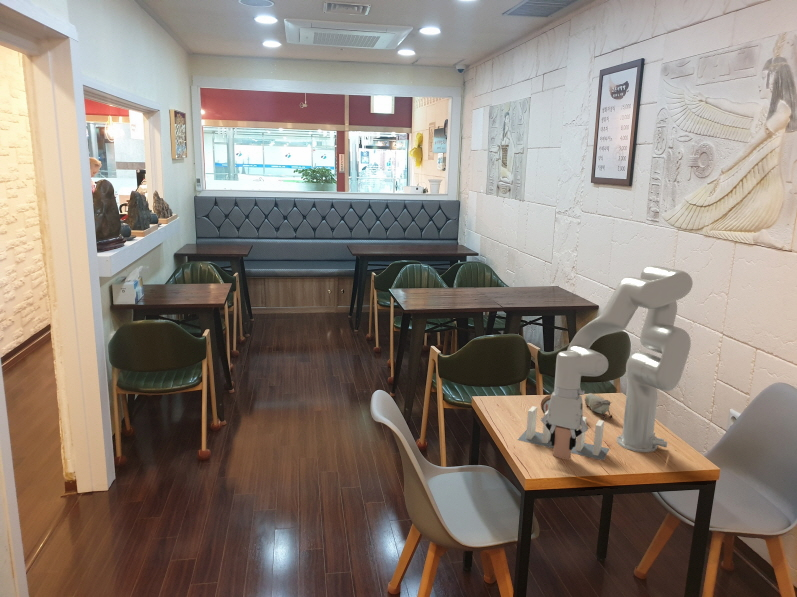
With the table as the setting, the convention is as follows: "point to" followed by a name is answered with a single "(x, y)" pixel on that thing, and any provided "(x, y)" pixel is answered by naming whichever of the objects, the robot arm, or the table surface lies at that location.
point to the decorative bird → (598, 404)
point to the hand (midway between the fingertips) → (562, 445)
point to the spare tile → (562, 442)
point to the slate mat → (585, 451)
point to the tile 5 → (598, 437)
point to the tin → (545, 403)
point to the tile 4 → (580, 438)
